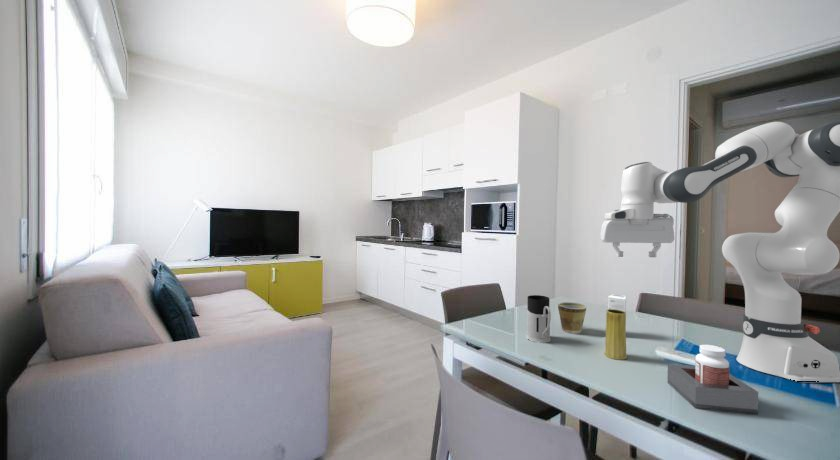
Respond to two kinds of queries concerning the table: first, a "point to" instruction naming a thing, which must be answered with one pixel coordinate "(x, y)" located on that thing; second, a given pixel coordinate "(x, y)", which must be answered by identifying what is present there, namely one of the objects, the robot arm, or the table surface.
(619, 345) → the vase
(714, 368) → the pill bottle
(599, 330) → the table surface
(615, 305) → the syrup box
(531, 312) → the glass holder
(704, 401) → the metal socket
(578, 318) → the ceramic cup
